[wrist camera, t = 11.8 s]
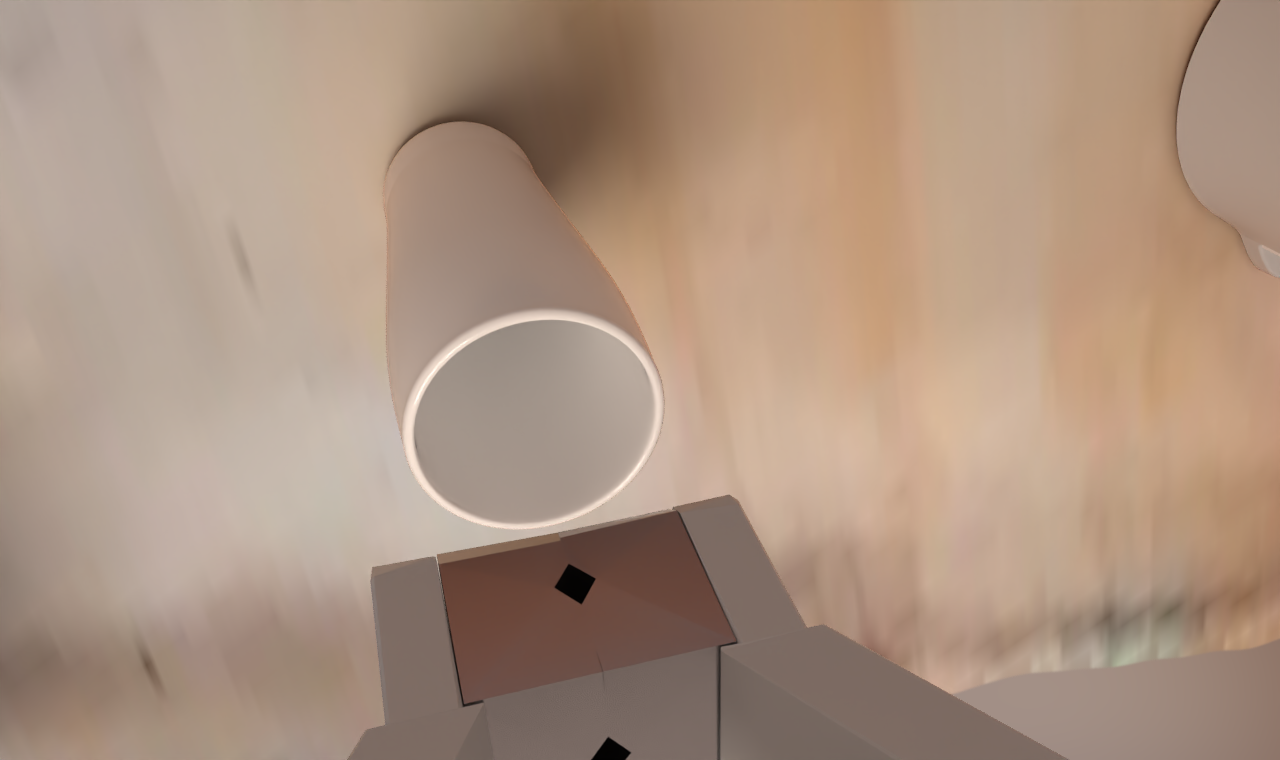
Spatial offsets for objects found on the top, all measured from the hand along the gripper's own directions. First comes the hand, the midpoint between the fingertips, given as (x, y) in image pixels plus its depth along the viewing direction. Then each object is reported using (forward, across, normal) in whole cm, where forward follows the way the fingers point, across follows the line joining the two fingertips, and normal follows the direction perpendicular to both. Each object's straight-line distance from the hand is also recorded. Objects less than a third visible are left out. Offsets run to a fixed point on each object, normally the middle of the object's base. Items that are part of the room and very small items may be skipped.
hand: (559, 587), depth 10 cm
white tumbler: (+31, -2, +10) cm, 33 cm away
